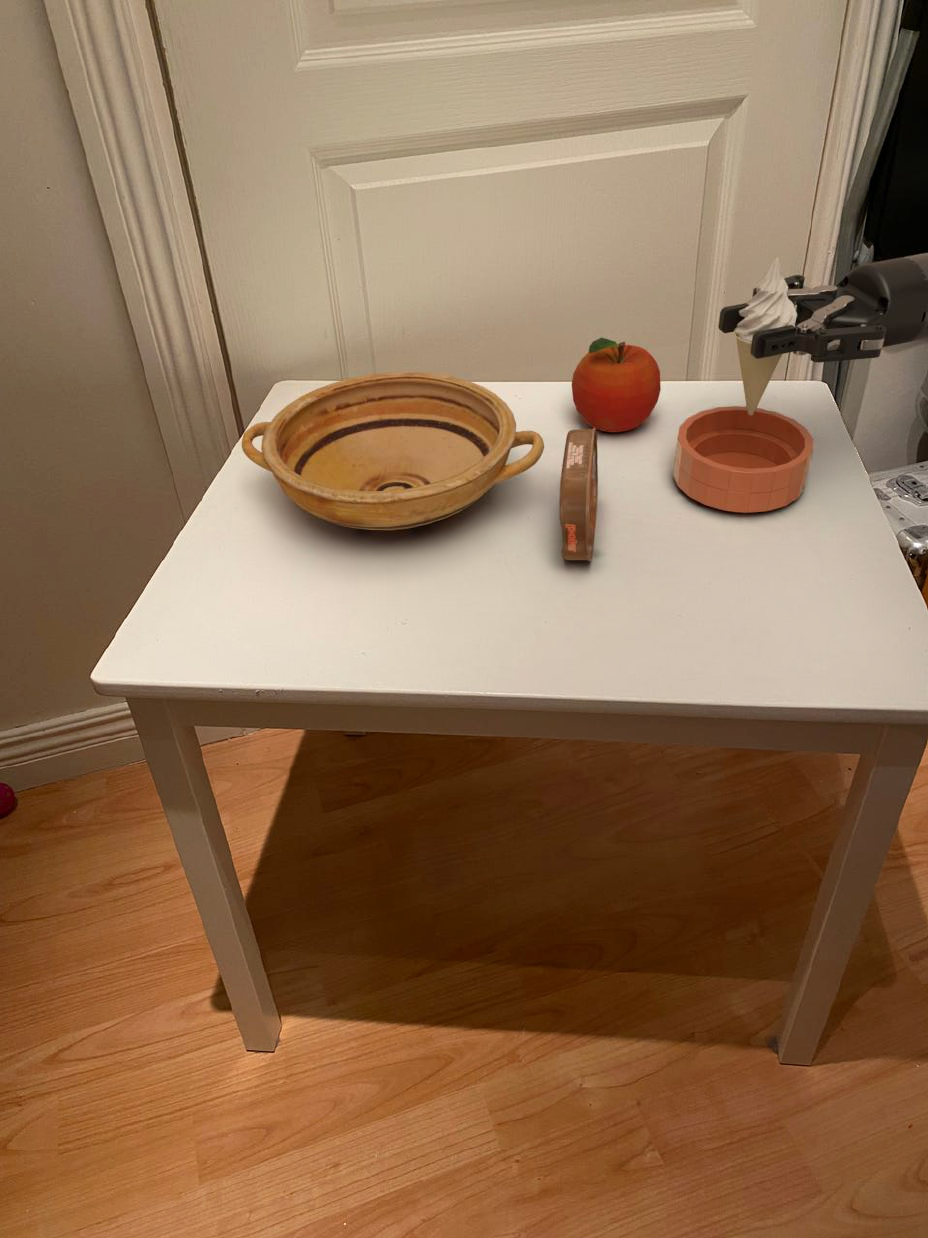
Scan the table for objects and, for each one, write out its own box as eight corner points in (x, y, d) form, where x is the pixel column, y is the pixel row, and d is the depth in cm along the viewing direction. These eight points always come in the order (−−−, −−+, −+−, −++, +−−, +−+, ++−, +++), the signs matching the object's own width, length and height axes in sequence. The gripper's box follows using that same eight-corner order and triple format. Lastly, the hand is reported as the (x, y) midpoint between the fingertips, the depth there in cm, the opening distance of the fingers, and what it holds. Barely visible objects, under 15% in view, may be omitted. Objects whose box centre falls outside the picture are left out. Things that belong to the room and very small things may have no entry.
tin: (590, 580, 83) (594, 500, 77) (554, 578, 83) (556, 498, 78) (599, 487, 94) (603, 411, 88) (567, 485, 94) (569, 410, 89)
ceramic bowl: (215, 563, 87) (195, 490, 82) (290, 432, 105) (277, 366, 100) (531, 581, 83) (531, 506, 78) (553, 442, 101) (554, 373, 96)
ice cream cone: (784, 426, 86) (814, 263, 77) (728, 428, 87) (751, 266, 77) (771, 400, 90) (799, 241, 80) (718, 402, 90) (739, 244, 81)
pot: (820, 468, 95) (830, 424, 91) (778, 531, 87) (788, 486, 84) (701, 438, 100) (707, 395, 97) (652, 495, 92) (657, 451, 89)
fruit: (674, 431, 101) (684, 344, 95) (596, 452, 99) (601, 364, 92) (630, 394, 108) (636, 310, 102) (555, 413, 106) (557, 328, 99)
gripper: (865, 233, 88) (702, 263, 85) (970, 287, 78) (788, 323, 75) (848, 310, 93) (693, 341, 90) (945, 371, 83) (773, 408, 80)
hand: (737, 333), depth 82 cm, fingers closed on ice cream cone, 5 cm apart
